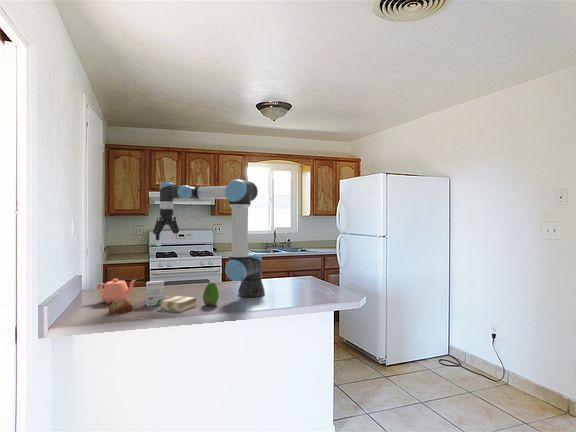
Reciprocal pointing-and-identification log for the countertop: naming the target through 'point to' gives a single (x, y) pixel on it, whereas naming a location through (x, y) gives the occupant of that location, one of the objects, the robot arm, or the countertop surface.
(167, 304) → the maple plinth
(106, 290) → the teapot
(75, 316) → the countertop surface
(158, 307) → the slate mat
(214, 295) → the avocado
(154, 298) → the ink box
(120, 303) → the bread roll
